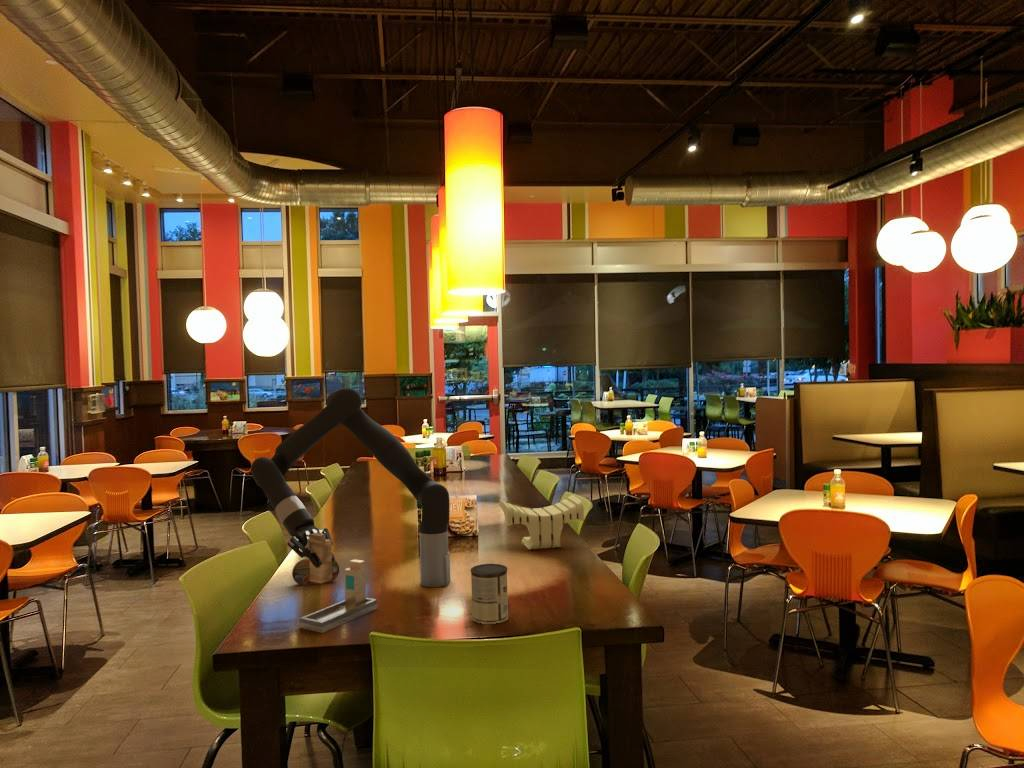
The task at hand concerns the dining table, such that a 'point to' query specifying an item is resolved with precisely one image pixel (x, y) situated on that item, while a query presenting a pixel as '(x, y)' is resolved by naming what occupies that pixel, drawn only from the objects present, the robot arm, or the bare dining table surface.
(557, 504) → the slatted curved stool
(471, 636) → the dining table surface
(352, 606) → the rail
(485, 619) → the coffee can
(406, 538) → the dining table surface
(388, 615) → the dining table surface
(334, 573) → the tin
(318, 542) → the maple finger
